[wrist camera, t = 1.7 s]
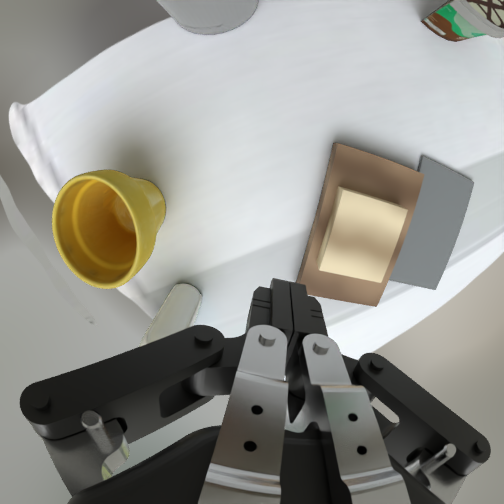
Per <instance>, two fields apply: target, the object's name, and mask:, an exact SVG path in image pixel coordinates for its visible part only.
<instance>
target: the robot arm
mask: <svg viewBox="0 0 504 504" xmlns="http://www.w3.org/2000/svg"><path fill="white" fill-rule="evenodd" d="M156 1H157V2H158V3H159V4H160V5H161V6H162V7H163V8H164V9H165V10H166V11H167V12H168V13H169V14H170V15H171V16H172V18H173V19H174V20H175V21H176V22H177V23H178V24H179V25H180V26H181V27H182V28H184V29H186V30H187V31H189V32H193V33H196V34H203V35H209V34H218V33H224V32H226V31H229V30H232V29H234V28H236V27H238V26H240V25H242V24H243V23H244V22H246V21H247V20H248V19H249V18H250V17H251V16H252V15H253V13H254V12H255V10H256V8H257V4H258V0H156ZM323 318H324V317H323V313H322V309H321V305H320V303H319V302H318V301H317V300H316V298H315V297H311V296H308V294H307V289H306V285H305V284H300V283H295V282H289V281H285V280H280V279H275V278H273V279H272V281H271V285H270V288H265V287H260V286H259V287H258V288H257V289H256V290H255V291H254V293H253V298H252V302H251V306H250V310H249V314H248V319H247V325H246V332H245V334H243V335H242V336H239V337H235V338H224V336H223V334H222V333H221V332H220V331H218V330H217V329H215V328H213V327H210V326H206V325H195V326H191V327H189V328H186V329H184V330H181V331H179V332H176V333H174V334H171V335H169V336H166V337H164V338H161V339H159V340H156V341H153V342H151V343H148V344H146V345H143V346H140V347H138V348H135V349H132V350H130V351H127V352H124V353H122V354H119V355H116V356H113V357H111V358H108V359H105V360H102V361H99V362H97V363H94V364H91V365H88V366H85V367H82V368H80V369H76V370H73V371H70V372H67V373H64V374H61V375H58V376H55V377H52V378H49V379H45V380H42V381H39V382H35V383H33V384H31V385H29V386H28V387H26V388H25V389H24V391H23V392H22V394H21V397H20V408H21V411H22V413H23V415H24V416H25V417H26V419H27V420H28V421H29V422H30V424H31V425H32V426H33V428H34V430H35V431H36V433H37V434H38V435H39V436H40V437H41V439H42V440H43V441H44V443H45V445H46V448H47V450H48V452H49V454H50V456H51V459H52V460H53V463H54V465H55V467H56V469H57V471H58V472H59V474H60V476H61V478H62V480H63V482H64V483H65V485H66V487H67V489H68V490H69V492H70V494H71V495H72V498H71V499H70V500H69V502H68V504H452V502H453V500H454V499H455V497H456V495H457V493H458V491H459V490H460V488H461V486H462V484H463V482H464V480H465V478H466V476H467V475H468V474H470V473H471V472H472V471H474V470H475V469H476V468H478V467H479V466H481V465H482V464H483V463H484V462H486V461H487V460H488V458H489V457H490V452H491V449H490V445H489V442H488V440H487V439H486V438H485V437H484V436H483V435H482V434H481V433H479V432H478V431H477V430H475V429H474V428H473V427H472V426H470V425H469V424H468V423H467V422H465V421H464V420H463V419H462V418H460V417H459V416H458V415H456V414H455V413H454V412H452V411H451V410H450V409H449V408H448V407H446V406H445V405H444V404H442V403H441V402H440V401H439V400H437V399H436V398H435V397H434V396H432V395H431V394H430V393H429V392H427V391H426V390H425V389H423V388H422V387H421V386H420V385H418V384H417V383H416V382H415V381H413V380H412V379H411V378H409V377H408V376H407V375H406V374H404V373H403V372H402V371H401V370H399V369H398V368H397V367H395V366H394V365H393V364H392V363H390V362H389V361H388V360H387V359H385V358H384V357H382V356H380V355H378V354H375V353H366V354H364V355H362V356H361V358H360V359H359V361H358V360H355V359H352V358H350V357H347V356H344V355H342V354H341V352H340V349H339V347H338V345H337V344H336V342H335V341H334V340H332V339H331V338H329V337H328V334H327V330H326V325H325V321H324V319H323ZM284 376H286V381H284ZM215 395H230V398H229V401H228V405H227V408H226V411H225V415H224V418H223V422H222V425H219V426H211V427H207V428H203V429H200V430H197V431H194V432H192V433H190V434H188V435H186V436H185V437H183V438H182V439H180V440H178V441H177V442H175V443H174V444H172V445H170V446H168V447H167V448H165V449H163V450H162V451H160V452H158V453H157V454H155V455H153V456H151V457H149V458H148V459H146V460H144V461H142V462H140V463H139V464H137V465H135V466H133V467H131V468H129V469H127V470H125V471H123V472H121V473H119V474H117V475H115V476H113V477H112V474H113V472H114V471H115V470H116V469H117V468H118V467H119V466H121V465H122V464H124V463H125V462H126V460H127V459H128V457H129V445H128V444H130V443H132V442H134V441H136V440H138V439H140V438H142V437H144V436H146V435H148V434H150V433H152V432H154V431H156V430H158V429H160V428H162V427H164V426H166V425H168V424H170V423H172V422H173V421H175V420H177V419H179V418H181V417H182V416H184V415H186V414H188V413H189V412H191V411H193V410H195V409H197V408H198V407H200V406H202V405H203V404H205V403H207V402H209V401H210V400H211V399H213V397H214V396H215ZM375 397H377V398H378V399H379V400H380V401H381V402H382V403H384V404H385V405H386V406H387V407H389V408H390V409H391V410H392V411H393V412H394V413H395V414H397V415H398V417H399V422H398V423H392V422H390V421H389V420H388V419H387V418H386V417H385V416H383V415H382V414H381V413H380V412H379V411H378V410H376V409H375V408H374V407H373V406H372V405H371V402H372V401H373V399H374V398H375Z"/></svg>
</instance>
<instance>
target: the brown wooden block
mask: <svg viewBox="0 0 504 504" xmlns="http://www.w3.org/2000/svg"><path fill="white" fill-rule="evenodd" d="M424 175H425V174H422V173H420V172H418V171H415V170H413V169H410V168H408V167H405V166H403V165H400V164H398V163H395V162H393V161H390V160H387V159H384V158H382V157H379V156H376V155H373V154H370V153H367V152H364V151H361V150H358V149H355V148H352V147H349V146H346V145H342V144H339V143H333V147H332V151H331V156H330V160H329V164H328V168H327V172H326V176H325V180H324V184H323V188H322V192H321V196H320V200H319V204H318V207H317V211H316V215H315V219H314V222H313V226H312V230H311V233H310V237H309V240H308V244H307V247H306V251H305V254H304V257H303V261H302V264H301V268H300V271H299V274H298V277H297V281H296V283H300V284H305V285H306V289H307V294H308V295H313V296H318V297H323V298H329V299H334V300H340V301H346V302H351V303H357V304H363V305H369V306H375V307H377V305H378V303H379V300H380V298H381V296H382V294H383V292H384V289H385V287H386V285H387V283H388V280H389V278H390V276H391V273H392V271H393V268H394V266H395V263H396V261H397V258H398V256H399V253H400V250H401V248H402V245H403V242H404V240H405V237H406V234H407V231H408V228H409V225H410V222H411V219H412V216H413V213H414V210H415V207H416V203H417V200H418V197H419V193H420V190H421V186H422V182H423V178H424ZM338 186H339V187H343V188H346V189H350V190H353V191H357V192H360V193H364V194H367V195H370V196H373V197H377V198H380V199H383V200H386V201H389V202H392V203H395V204H398V205H400V206H402V207H404V208H405V209H407V210H408V211H407V215H406V218H405V221H404V224H403V227H402V230H401V233H400V235H399V238H398V241H397V244H396V247H395V249H394V252H393V255H392V257H391V260H390V262H389V265H388V267H387V270H386V272H385V275H384V277H383V280H382V282H381V283H378V282H374V281H369V280H364V279H359V278H354V277H349V276H344V275H339V274H335V273H330V272H325V271H320V270H319V268H318V265H317V262H316V261H317V258H318V255H319V251H320V248H321V245H322V242H323V238H324V235H325V232H326V228H327V225H328V221H329V218H330V214H331V211H332V207H333V203H334V200H335V196H336V192H337V189H338Z"/></svg>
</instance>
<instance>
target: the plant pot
mask: <svg viewBox="0 0 504 504" xmlns="http://www.w3.org/2000/svg"><path fill="white" fill-rule="evenodd" d="M165 213H166V206H165V201H164V198H163V195H162V193H161V192H160V190H159V189H158V188H157V187H156V186H155V185H154V184H153V183H151V182H149V181H147V180H145V179H139V178H131V177H129V176H128V175H126V174H124V173H122V172H119V171H115V170H98V171H92V172H88V173H84V174H80V175H78V176H75V177H74V178H72V179H70V180H69V181H68V182H67V183H66V184H65V185H64V186H63V187H62V189H61V190H60V192H59V193H58V195H57V198H56V200H55V203H54V207H53V213H52V229H53V235H54V240H55V243H56V246H57V249H58V251H59V253H60V255H61V257H62V259H63V260H64V262H65V263H66V265H67V266H68V267H69V269H70V270H71V271H72V272H73V273H74V274H75V275H76V276H77V277H78V278H80V279H81V280H82V281H84V282H86V283H88V284H89V285H91V286H94V287H98V288H102V289H110V288H116V287H119V286H122V285H124V284H125V283H127V282H128V281H129V280H130V279H131V278H132V277H133V276H135V275H136V273H137V272H138V271H139V270H140V269H141V268H142V267H143V266H144V265H145V263H146V262H147V261H148V259H149V258H150V256H151V254H152V251H153V249H154V245H155V240H156V234H157V232H158V230H159V228H160V227H161V225H162V223H163V221H164V218H165Z"/></svg>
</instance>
